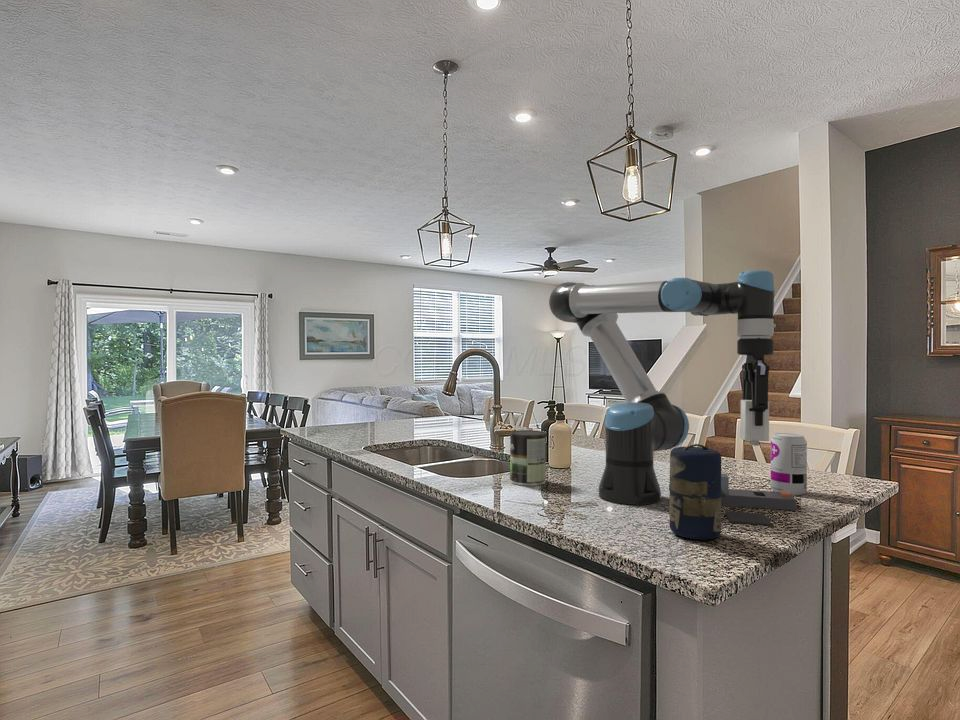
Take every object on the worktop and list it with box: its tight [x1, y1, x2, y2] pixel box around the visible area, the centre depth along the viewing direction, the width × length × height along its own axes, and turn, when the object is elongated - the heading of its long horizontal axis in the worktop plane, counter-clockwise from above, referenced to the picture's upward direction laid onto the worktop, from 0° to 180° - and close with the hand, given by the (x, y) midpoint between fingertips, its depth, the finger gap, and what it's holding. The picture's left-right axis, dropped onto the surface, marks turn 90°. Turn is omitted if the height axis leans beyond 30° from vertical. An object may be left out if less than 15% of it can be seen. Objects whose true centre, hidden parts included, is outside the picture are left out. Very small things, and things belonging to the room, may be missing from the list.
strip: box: [721, 473, 797, 511], centre depth 129 cm, size 26×10×6 cm, turn 73°
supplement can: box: [770, 432, 808, 496], centre depth 142 cm, size 8×8×15 cm
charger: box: [739, 399, 770, 446], centre depth 125 cm, size 5×5×10 cm
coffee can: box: [509, 429, 547, 487], centre depth 153 cm, size 10×10×14 cm
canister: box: [668, 443, 722, 541], centre depth 106 cm, size 10×10×18 cm
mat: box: [724, 510, 773, 527], centre depth 117 cm, size 8×8×1 cm
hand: (754, 437), depth 125 cm, fingers closed on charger, 5 cm apart
